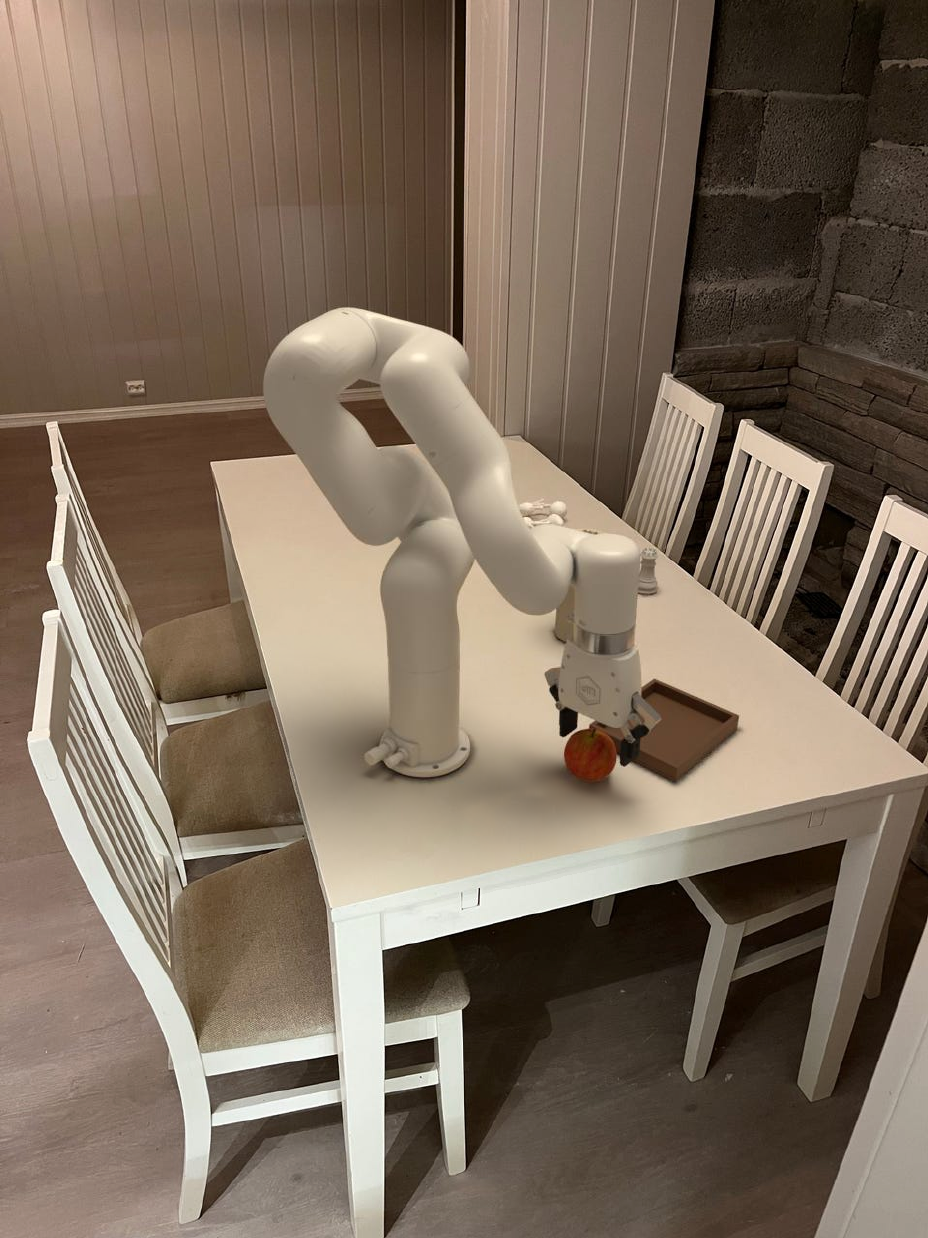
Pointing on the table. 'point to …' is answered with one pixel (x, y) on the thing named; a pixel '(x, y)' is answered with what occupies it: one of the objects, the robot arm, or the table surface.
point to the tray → (676, 730)
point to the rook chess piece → (647, 572)
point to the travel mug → (568, 605)
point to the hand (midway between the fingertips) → (597, 746)
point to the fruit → (590, 755)
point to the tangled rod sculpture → (556, 509)
